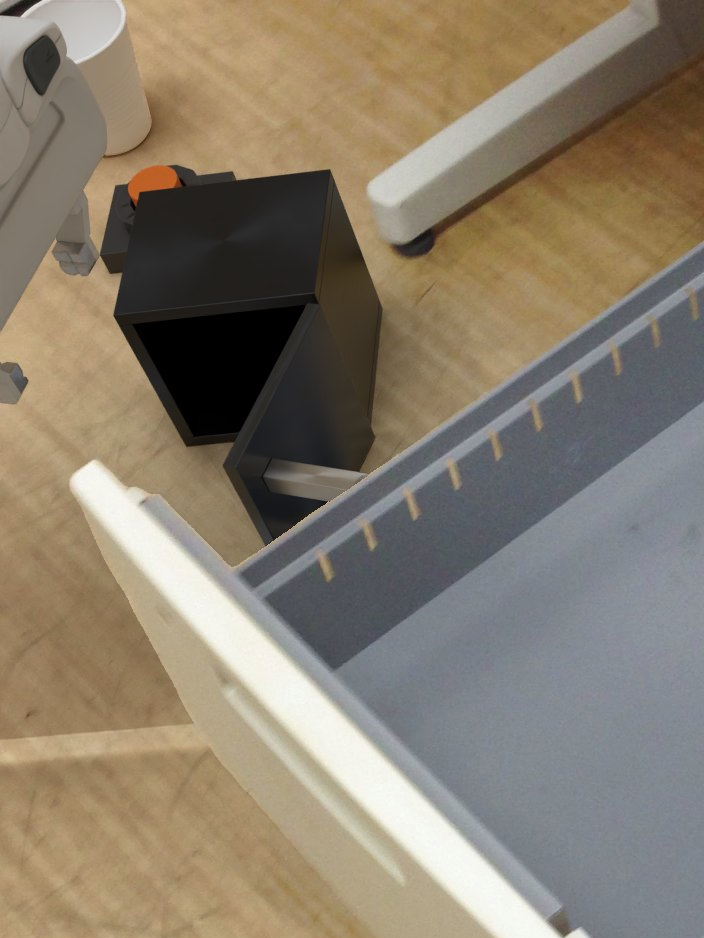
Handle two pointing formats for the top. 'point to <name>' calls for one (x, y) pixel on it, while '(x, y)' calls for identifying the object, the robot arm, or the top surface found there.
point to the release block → (125, 211)
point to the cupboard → (241, 293)
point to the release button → (153, 180)
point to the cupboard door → (300, 433)
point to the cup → (103, 63)
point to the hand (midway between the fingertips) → (48, 328)
